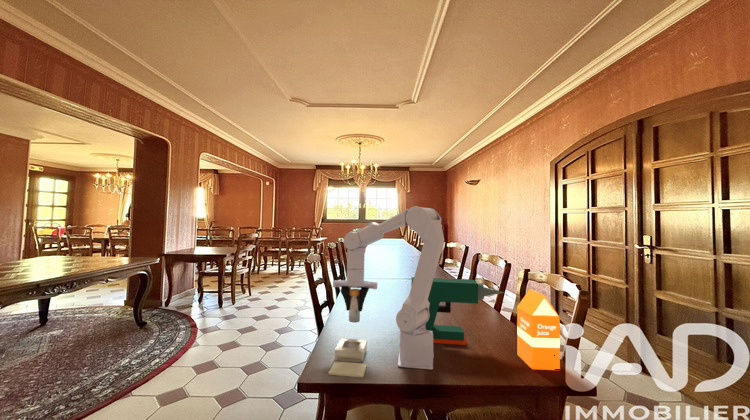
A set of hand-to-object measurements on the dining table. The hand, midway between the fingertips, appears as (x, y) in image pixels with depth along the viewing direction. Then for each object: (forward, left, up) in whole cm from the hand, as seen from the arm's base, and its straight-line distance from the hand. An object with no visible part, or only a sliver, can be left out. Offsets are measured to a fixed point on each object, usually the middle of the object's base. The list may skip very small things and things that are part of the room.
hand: (354, 310), depth 94 cm
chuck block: (-1, +9, -10) cm, 14 cm away
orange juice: (-55, +4, -11) cm, 56 cm away
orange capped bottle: (0, 0, -3) cm, 3 cm away
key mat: (-2, +17, -10) cm, 20 cm away
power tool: (-34, -8, -11) cm, 37 cm away
